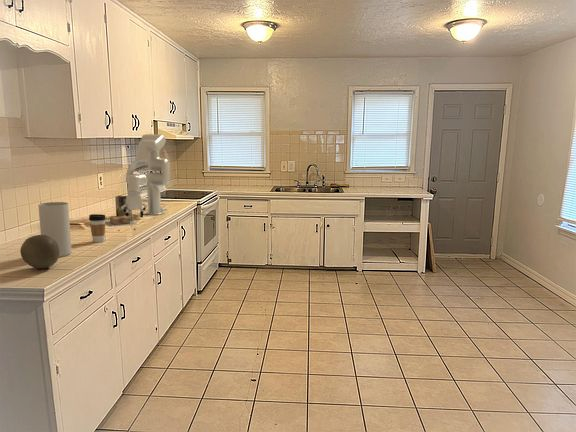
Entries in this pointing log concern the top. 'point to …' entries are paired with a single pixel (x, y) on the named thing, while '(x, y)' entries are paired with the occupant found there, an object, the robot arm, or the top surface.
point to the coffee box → (120, 202)
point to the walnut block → (119, 220)
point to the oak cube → (134, 216)
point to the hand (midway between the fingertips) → (134, 217)
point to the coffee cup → (97, 227)
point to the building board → (119, 225)
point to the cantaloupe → (40, 251)
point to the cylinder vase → (56, 224)
